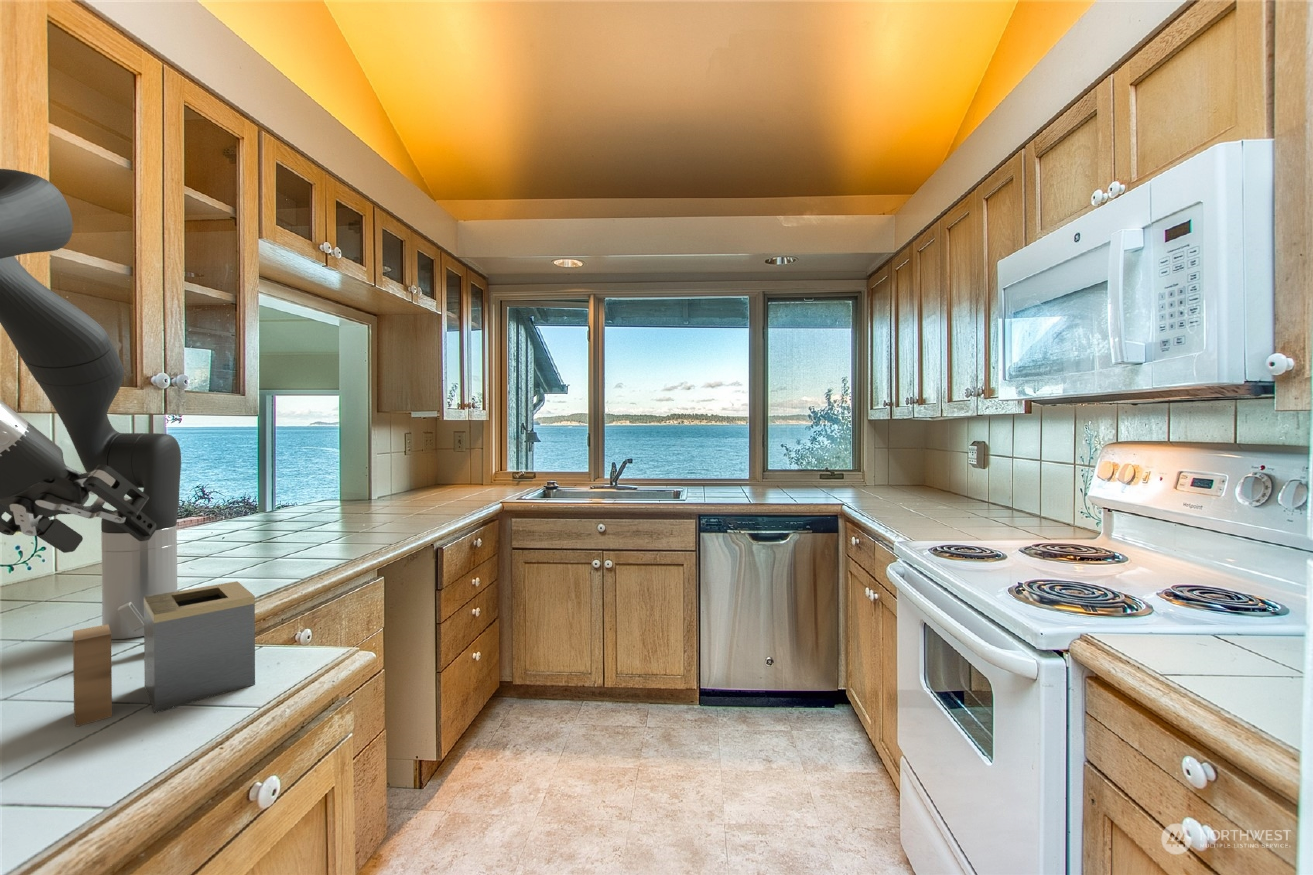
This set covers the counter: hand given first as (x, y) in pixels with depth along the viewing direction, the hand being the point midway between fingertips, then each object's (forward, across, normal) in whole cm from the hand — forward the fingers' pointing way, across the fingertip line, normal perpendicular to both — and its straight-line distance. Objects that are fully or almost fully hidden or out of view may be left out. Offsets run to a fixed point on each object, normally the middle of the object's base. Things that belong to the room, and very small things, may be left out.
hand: (112, 540), depth 62 cm
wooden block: (+17, +8, +12) cm, 22 cm away
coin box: (+22, +2, +8) cm, 24 cm away
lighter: (+28, +17, -2) cm, 33 cm away
